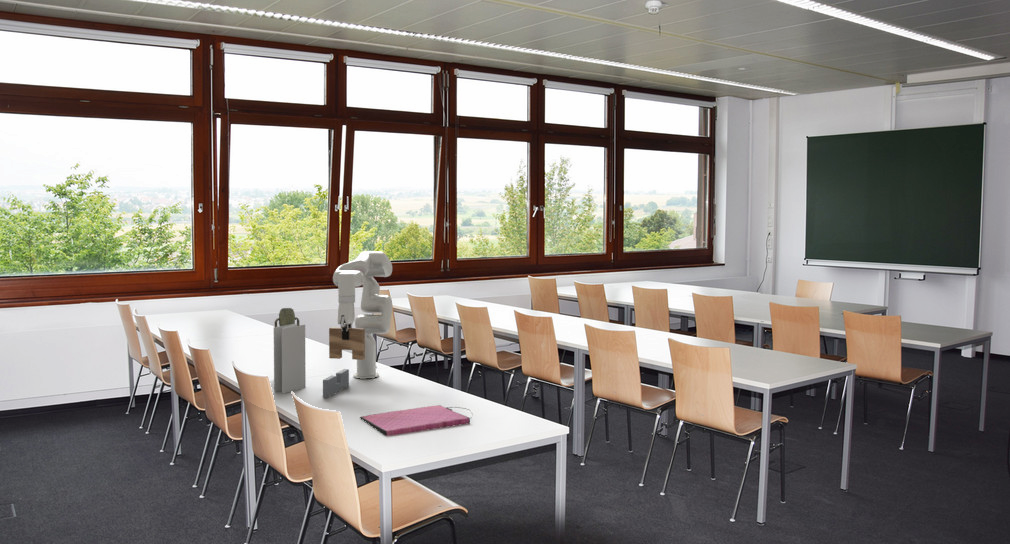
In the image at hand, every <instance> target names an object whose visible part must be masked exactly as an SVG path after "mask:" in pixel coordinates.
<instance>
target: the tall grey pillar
mask: <svg viewBox="0 0 1010 544" xmlns="http://www.w3.org/2000/svg"><path fill="white" fill-rule="evenodd" d="M306 374H307V373H306V324H301V325H300V324H299V326H297V323H295V324H292V325H285V326H277V327H275V326H273V392H274V393H277V392H280V391H281V394H282V393H283V394H286V392H287V393H290V392H293V391H299V390H302V389H306V382H307V381H306V376H307V375H306ZM291 390H293V391H291ZM276 391H277V392H276Z"/></svg>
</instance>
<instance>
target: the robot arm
mask: <svg viewBox="0 0 1010 544" xmlns="http://www.w3.org/2000/svg"><path fill="white" fill-rule="evenodd" d="M392 272H393V264H392V262H391V260H390V258H389V257H388V255H387V254H386V253H385V252H383V251H376V250H375V251H373V250H372V251H371V250H365V251H361V252H360V253H359V254H358V255H357V257H356V258H355V259H354V260H352V261H349V262H347V263H343V264H341V265H339V266H338V267H337V268H336V270H335V271H334V272H333V276H332V282H333V284H334V285H335V286H336V287H338V290H337V291H338V292H337V293H338V297H337V298H338V299H337V300H338V309H337V324H338V325H340V328H342V340H349V331H348V328H353V323H354V328H364V329H365V359H363V360H356V372H355V373H354V374H353V377H354V378H355V379H358V378H360V380H367V379H366V378H372V379H376V378H375V377H377V378H379V376H380V374H379V373H378V372H377V368H378V367H377V342H376V339H375V337H374V336H373V334H374V335H376V334H377V335H384V334H388V332H389V331H390V328H391V323H392V322H391V321H392V313H393V300H392V297H391V296H390V295H386V294H380V292H381V291H380V289H381V288H380V284H379V282H377V280H376V279H375V278H374V277H379V278H382V277H383V278H387V277H390V276H391V275H392ZM358 287H362V294H361V298H360V299H361V300H360V310H361V312H363V313H365V314H359V315H357V316H355V315H356V314H355V303H356V288H358Z"/></svg>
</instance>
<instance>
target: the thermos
mask: <svg viewBox="0 0 1010 544" xmlns="http://www.w3.org/2000/svg"><path fill="white" fill-rule="evenodd" d="M292 324H297V326H300V319H299V318H298V317H296V314H295V310H294V309H293V308H291V307H283V308H281V309H280V310H279V314H278V318H276V319H275V320H274V327H279V326H285V325H292ZM278 325H279V326H278Z"/></svg>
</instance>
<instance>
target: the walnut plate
mask: <svg viewBox="0 0 1010 544" xmlns="http://www.w3.org/2000/svg"><path fill="white" fill-rule="evenodd" d="M348 331H349V340H342V328H341V326H340V327H337V326H335V327H333V326H330V327H329V329H328V334H329V335H328V340H329V341H328V347H329V348H328V349H329V351H328V352H329V353H328V356H329V357H328V358H329V359H337V360H338V359H339V360H340V359H341V358H343V350H345V351H351V359H352V360H354V361H355V360H356V361H357V360H363V359H365V329H364V328H355V327H352V328H348Z"/></svg>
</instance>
